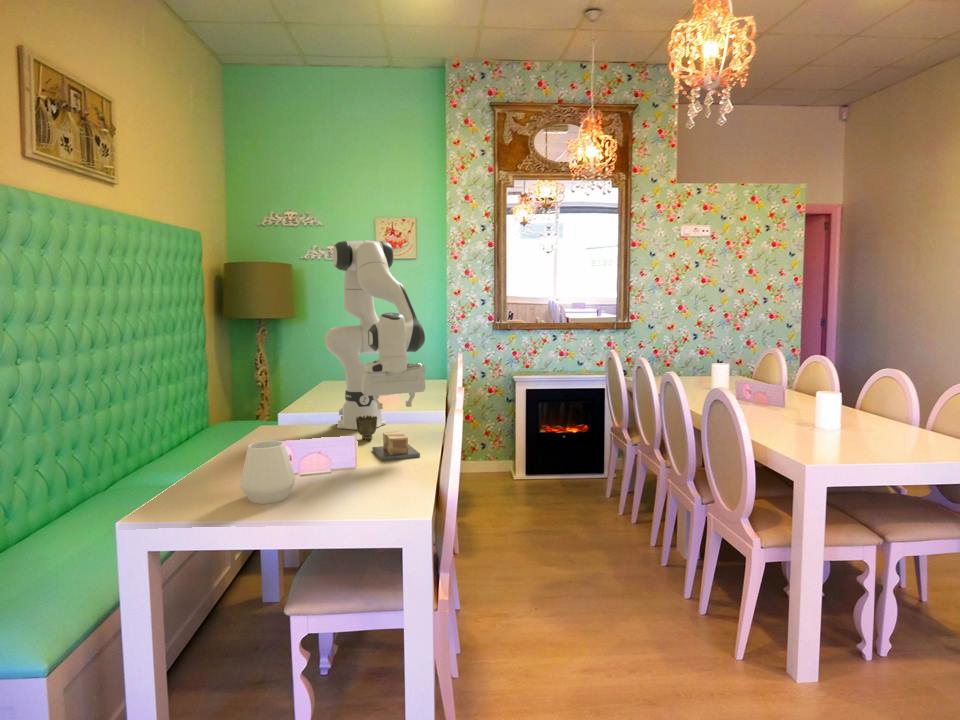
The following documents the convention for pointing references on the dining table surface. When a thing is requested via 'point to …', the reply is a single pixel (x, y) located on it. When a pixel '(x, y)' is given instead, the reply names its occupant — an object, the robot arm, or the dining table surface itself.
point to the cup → (366, 426)
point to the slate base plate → (387, 456)
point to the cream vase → (267, 472)
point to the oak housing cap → (395, 442)
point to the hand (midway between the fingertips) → (394, 407)
